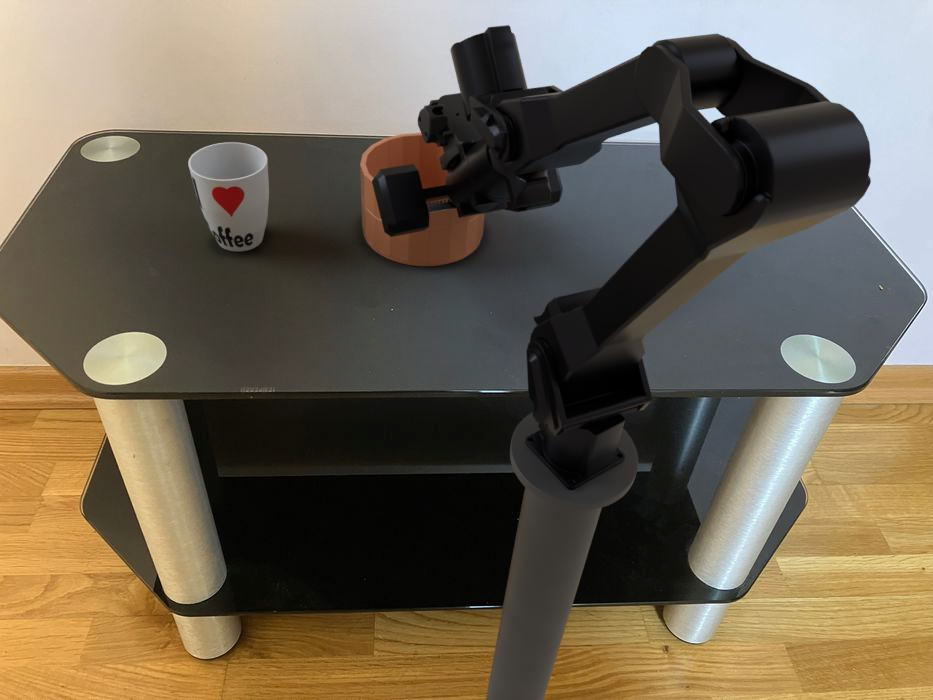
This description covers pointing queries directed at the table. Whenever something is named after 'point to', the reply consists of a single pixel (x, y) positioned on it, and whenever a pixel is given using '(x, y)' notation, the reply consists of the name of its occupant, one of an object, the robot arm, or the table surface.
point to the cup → (232, 192)
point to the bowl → (446, 229)
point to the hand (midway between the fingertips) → (444, 207)
